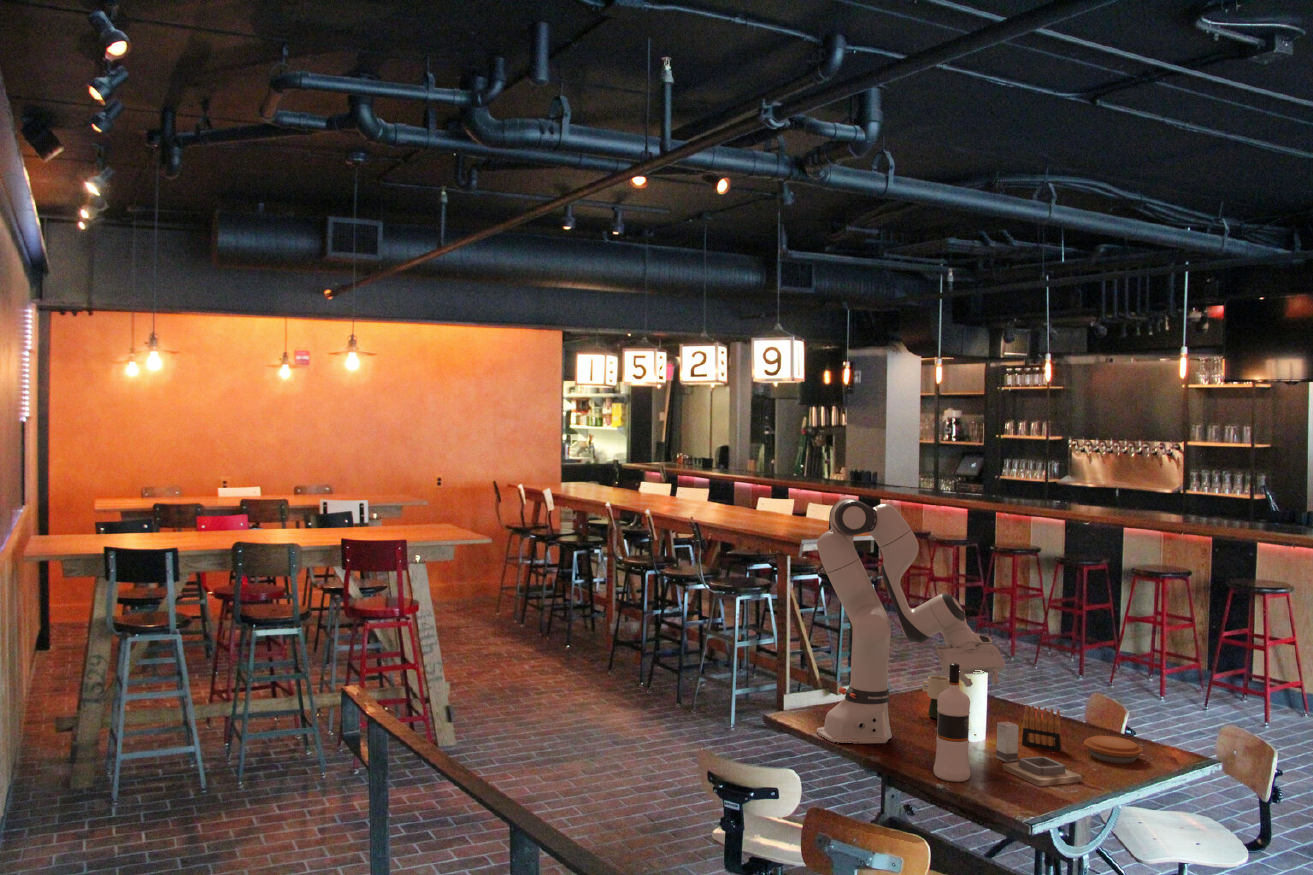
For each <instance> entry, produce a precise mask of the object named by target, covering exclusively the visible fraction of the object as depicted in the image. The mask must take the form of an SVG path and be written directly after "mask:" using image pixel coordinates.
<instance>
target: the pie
mask: <svg viewBox="0 0 1313 875" xmlns="http://www.w3.org/2000/svg"><path fill="white" fill-rule="evenodd" d="M1083 745H1084V746H1085V747H1086V748H1087V749H1088V751H1089V752H1090V753H1089V754H1090V755H1091V756H1092V757H1093V758H1095V759H1097V760H1100V761H1103V762H1107V763H1111V764H1122V765H1125V764H1126V765H1127V764H1132V763H1134V762H1135V761H1136V760H1137V758H1138V757H1139V756H1140V755H1141V754H1142V753H1143V751H1144V748H1143V747H1141V746H1140V745H1139V744H1137V743H1136V742H1134V741H1132V740H1129V739H1126V738H1124V737H1123V738H1122V737H1118V736H1110V735H1095V736H1094V735H1093V736H1091V737H1088V738H1086V739H1084V741H1083Z"/></svg>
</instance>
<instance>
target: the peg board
mask: <svg viewBox="0 0 1313 875" xmlns="http://www.w3.org/2000/svg"><path fill="white" fill-rule="evenodd" d="M1002 770H1004V771H1006V772H1008V773H1009V774H1011V775H1015V777H1019V779H1020V778H1021V779H1022V780H1025V781H1026V782H1028V783H1031V784H1034V786H1037V787H1046V786H1054V785H1061V784H1062V785H1063V784H1072V783H1073V784H1074V783H1082V779H1083V776H1082V775H1080V774H1078V773H1076V772H1074V771H1071V770H1069V769H1066V764H1063V763H1060V761H1059V762H1058V761H1056V760H1053V759H1052V758H1050V757H1047V756H1042V755H1041V756H1029V757H1021V758H1018V761H1015V762H1004V763H1002Z"/></svg>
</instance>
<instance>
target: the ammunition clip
mask: <svg viewBox="0 0 1313 875" xmlns="http://www.w3.org/2000/svg"><path fill="white" fill-rule="evenodd" d="M1053 709H1054V708H1052V707H1051V708H1050V711H1049V717H1048V709H1047V707H1044V709H1043V712H1042V710H1041V706H1038V707H1037V711H1035V710H1036V709H1035V706H1034V705H1032V706H1031V709H1030V710H1029V706H1028V704H1026V705H1025V707H1024V714H1023V722H1022V724H1023V726H1022V738H1021V739H1022V740H1021V745H1022V746H1024V747H1025V746H1026V747H1030V748H1031V747H1032V748H1036V749H1042V750H1047V751H1048V750H1049V751H1053V752H1061V751H1062V734H1061V733H1062V732H1061V731H1062V723H1061V713H1060V709H1057V711H1056V715H1055V714H1054V710H1053ZM1029 713H1030V714H1029ZM1042 713H1043V714H1042Z"/></svg>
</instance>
